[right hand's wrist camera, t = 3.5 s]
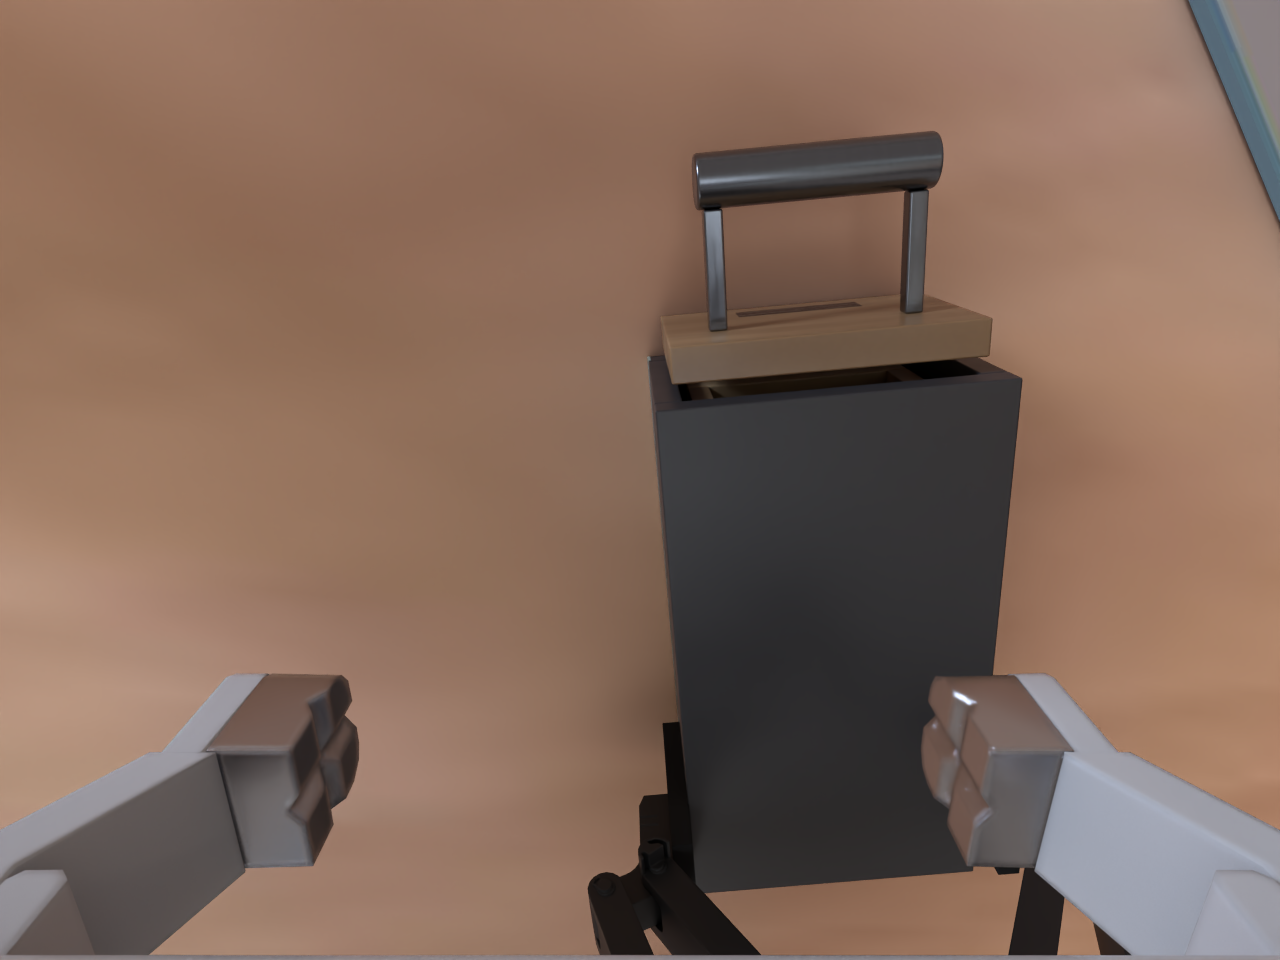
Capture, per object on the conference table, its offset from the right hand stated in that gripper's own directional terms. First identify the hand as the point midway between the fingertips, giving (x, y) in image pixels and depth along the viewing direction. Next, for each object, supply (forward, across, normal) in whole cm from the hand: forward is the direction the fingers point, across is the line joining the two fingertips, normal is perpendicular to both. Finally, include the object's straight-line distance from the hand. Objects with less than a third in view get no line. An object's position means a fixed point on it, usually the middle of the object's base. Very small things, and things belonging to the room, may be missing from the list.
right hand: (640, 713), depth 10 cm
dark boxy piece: (+21, +7, -9) cm, 24 cm away
